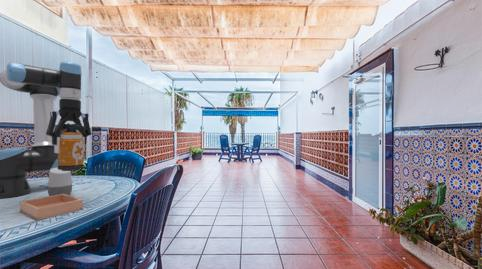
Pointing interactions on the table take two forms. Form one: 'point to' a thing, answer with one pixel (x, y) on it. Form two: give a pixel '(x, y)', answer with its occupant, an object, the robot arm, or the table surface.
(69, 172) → the smart speaker
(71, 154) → the canister
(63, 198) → the tray
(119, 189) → the table surface
